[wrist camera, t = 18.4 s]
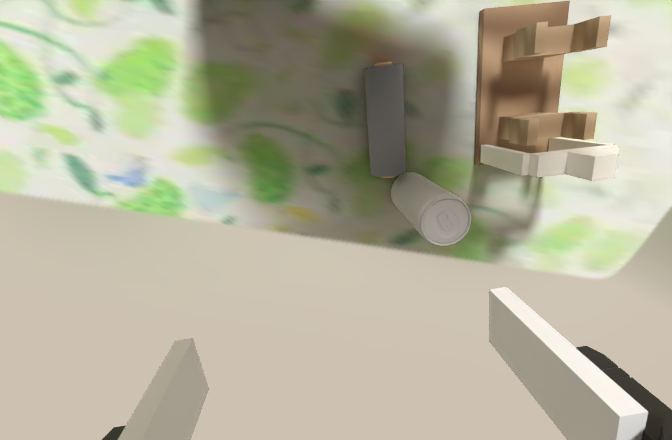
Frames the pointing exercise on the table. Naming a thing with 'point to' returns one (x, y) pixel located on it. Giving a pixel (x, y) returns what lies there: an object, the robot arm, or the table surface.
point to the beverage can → (431, 209)
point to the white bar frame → (557, 159)
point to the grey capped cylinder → (385, 119)
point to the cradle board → (529, 75)
